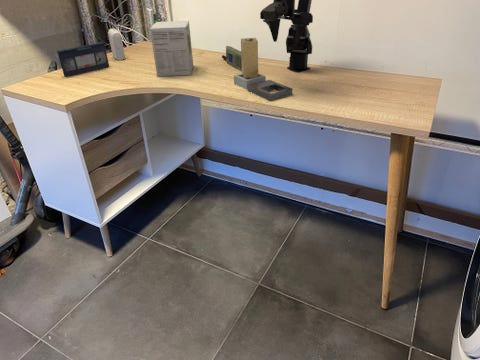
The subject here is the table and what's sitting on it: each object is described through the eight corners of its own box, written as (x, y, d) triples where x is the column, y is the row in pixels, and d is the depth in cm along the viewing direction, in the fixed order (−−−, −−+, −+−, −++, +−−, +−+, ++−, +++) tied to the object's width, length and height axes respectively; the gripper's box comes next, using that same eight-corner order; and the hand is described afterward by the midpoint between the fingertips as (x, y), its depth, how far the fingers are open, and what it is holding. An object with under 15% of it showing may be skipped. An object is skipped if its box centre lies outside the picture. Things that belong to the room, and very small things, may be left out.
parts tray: (252, 79, 137) (252, 70, 136) (265, 84, 132) (265, 76, 130) (234, 83, 134) (233, 75, 132) (246, 89, 128) (246, 80, 126)
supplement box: (190, 75, 144) (185, 27, 135) (156, 76, 144) (149, 28, 135) (194, 65, 155) (189, 20, 146) (162, 66, 156) (155, 21, 146)
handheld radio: (245, 75, 143) (219, 60, 162) (253, 74, 144) (226, 59, 163) (245, 57, 139) (219, 44, 158) (253, 56, 140) (226, 43, 159)
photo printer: (126, 59, 167) (120, 30, 161) (117, 61, 166) (110, 31, 159) (121, 54, 175) (115, 26, 168) (112, 56, 173) (105, 27, 167)
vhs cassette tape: (66, 77, 148) (58, 51, 142) (63, 76, 150) (56, 50, 144) (110, 67, 157) (104, 43, 152) (107, 66, 159) (102, 41, 154)
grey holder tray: (248, 91, 127) (247, 85, 126) (269, 85, 131) (269, 79, 130) (269, 101, 118) (269, 95, 117) (292, 94, 122) (292, 88, 121)
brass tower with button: (255, 73, 134) (255, 37, 127) (258, 77, 129) (257, 40, 123) (241, 74, 133) (240, 38, 126) (243, 78, 129) (242, 41, 122)
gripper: (247, -7, 120) (248, 43, 129) (290, -3, 108) (288, 52, 116) (272, -11, 126) (272, 38, 135) (315, -7, 114) (312, 46, 122)
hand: (284, 43), depth 127 cm, fingers open, 9 cm apart
